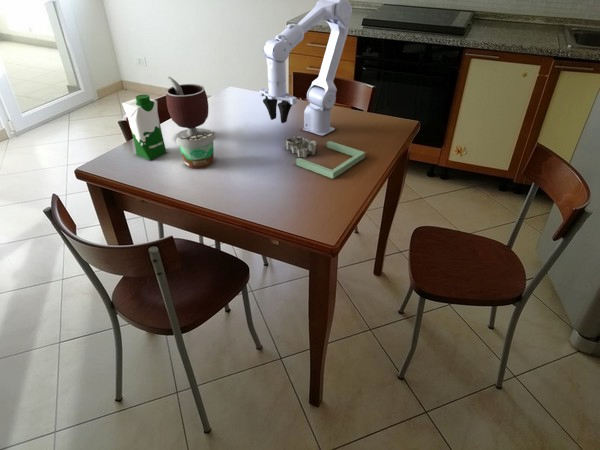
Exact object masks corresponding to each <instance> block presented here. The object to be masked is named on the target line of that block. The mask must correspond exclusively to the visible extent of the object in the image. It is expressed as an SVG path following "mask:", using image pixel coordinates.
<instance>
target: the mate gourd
mask: <svg viewBox="0 0 600 450" xmlns="http://www.w3.org/2000/svg"><path fill="white" fill-rule="evenodd" d="M167 79H168V80H169V81H170V82H171V85H172V86H171V87H168V88H167V89H166V91H165V93H166V95H165V96H166V97H165V98H166V107H167V111H168V113H169V116H170V118H171V121H172V122H173V123H175V124H176V125H177V126H178V127H180V128H185V129H184V130H180V131H179V132H178V133H177V134H176V135H175V140H176V139H177V137H178V138H180V139H182V138H186V137H190V136H192V135H197V134H207V133H211V132H210V131H209V129H206V128H199V126H202V125H203V124H205V122H206V121H207V119H208V117H209V100H208V96H207V92H206V89H205V86H203V85H201V84H196V83H183V84H180V83H178V81H176V80H175V79H174V78H172V77H171V76H168V77H167ZM197 127H198V128H197Z"/></svg>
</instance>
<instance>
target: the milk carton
mask: <svg viewBox="0 0 600 450" xmlns="http://www.w3.org/2000/svg"><path fill="white" fill-rule="evenodd" d="M121 104H122V107H123V109H124V112H125V114H126V116H127V120H128V124H129V127H130V131H131V135H132V139H133V144H134V148H135V154H136V156H138V157H140V158H143V159H145V160H147V161H152V160H154V159H156V158H159V157H161V156H163V155H165V154H167V149H166V144H165V140H164V136H163V132H162V127H161V122H160V118H159V117H160V116H159V112H158V111H159V110H158V100H156V99H152V98H150V95H149V94H139V95H136V96H135V98H134V99H131V100H128V101H124V102H122V103H121Z"/></svg>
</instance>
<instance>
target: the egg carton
mask: <svg viewBox="0 0 600 450" xmlns="http://www.w3.org/2000/svg"><path fill="white" fill-rule="evenodd" d="M284 140H285V142H286V144H285V146H286V147H285V148H286V150H287V151H291V153H292V154H297V157H298V158H307V157H308V155H312V156H313V155H316V145H318V142H317V141H316V140H310V139H308V138H304V137H302V136H300V135H298V136H291V137H284Z"/></svg>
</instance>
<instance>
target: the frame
mask: <svg viewBox="0 0 600 450" xmlns="http://www.w3.org/2000/svg"><path fill="white" fill-rule="evenodd" d="M326 148H327V149H330V150H333V151H336V152H339V153H342V154H345V155H347V156H348V155H349V156H351V157H350V158H349V159H347V160H345V161H343V162H342V163H340V164H339V165H338V166H337V165H336V166H335V167H334V168H333V169H331V168H328V167H325V166H323V165H320V164H317V163H314V162H312V161H309V160H306V159H304V158H302V157H298V158H296V160H295V165H296V166H297V167H300V168H303V169H306V170H308V171H310V172H313V173H316V174H318V175H322V176H324V177H328V178H329V179H333V180H334V179H335V178H337V177H338V176H340V175H342V174H343V173H344V172H346V171H347V170H349V169H351V168H352V167H354V166H355V165H356V164H358V163H359V162H360V161H362V160H364V159H365V158H366V152H365V151H363V150H359V149H357V148H353V147H350V146H347V145H344V144H340V143H337V142H334V141H333V140H332V141H331V140H327V142H326Z"/></svg>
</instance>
